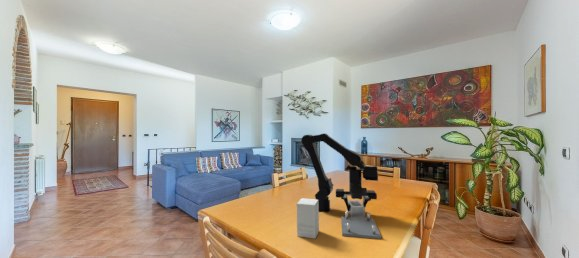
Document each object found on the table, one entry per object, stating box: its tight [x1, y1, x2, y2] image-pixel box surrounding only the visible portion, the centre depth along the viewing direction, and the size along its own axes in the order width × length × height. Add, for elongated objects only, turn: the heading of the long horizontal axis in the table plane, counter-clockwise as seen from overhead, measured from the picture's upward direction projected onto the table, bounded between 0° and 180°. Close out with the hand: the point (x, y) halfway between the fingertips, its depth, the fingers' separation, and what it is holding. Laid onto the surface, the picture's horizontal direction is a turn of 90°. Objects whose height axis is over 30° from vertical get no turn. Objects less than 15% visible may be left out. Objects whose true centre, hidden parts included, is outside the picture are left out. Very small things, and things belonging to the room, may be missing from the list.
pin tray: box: [340, 210, 382, 240], centre depth 92 cm, size 14×17×4 cm
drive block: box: [346, 199, 366, 218], centre depth 108 cm, size 6×10×5 cm, turn 178°
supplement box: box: [296, 197, 320, 240], centre depth 88 cm, size 7×7×13 cm
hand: (355, 211), depth 108 cm, fingers closed on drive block, 6 cm apart
